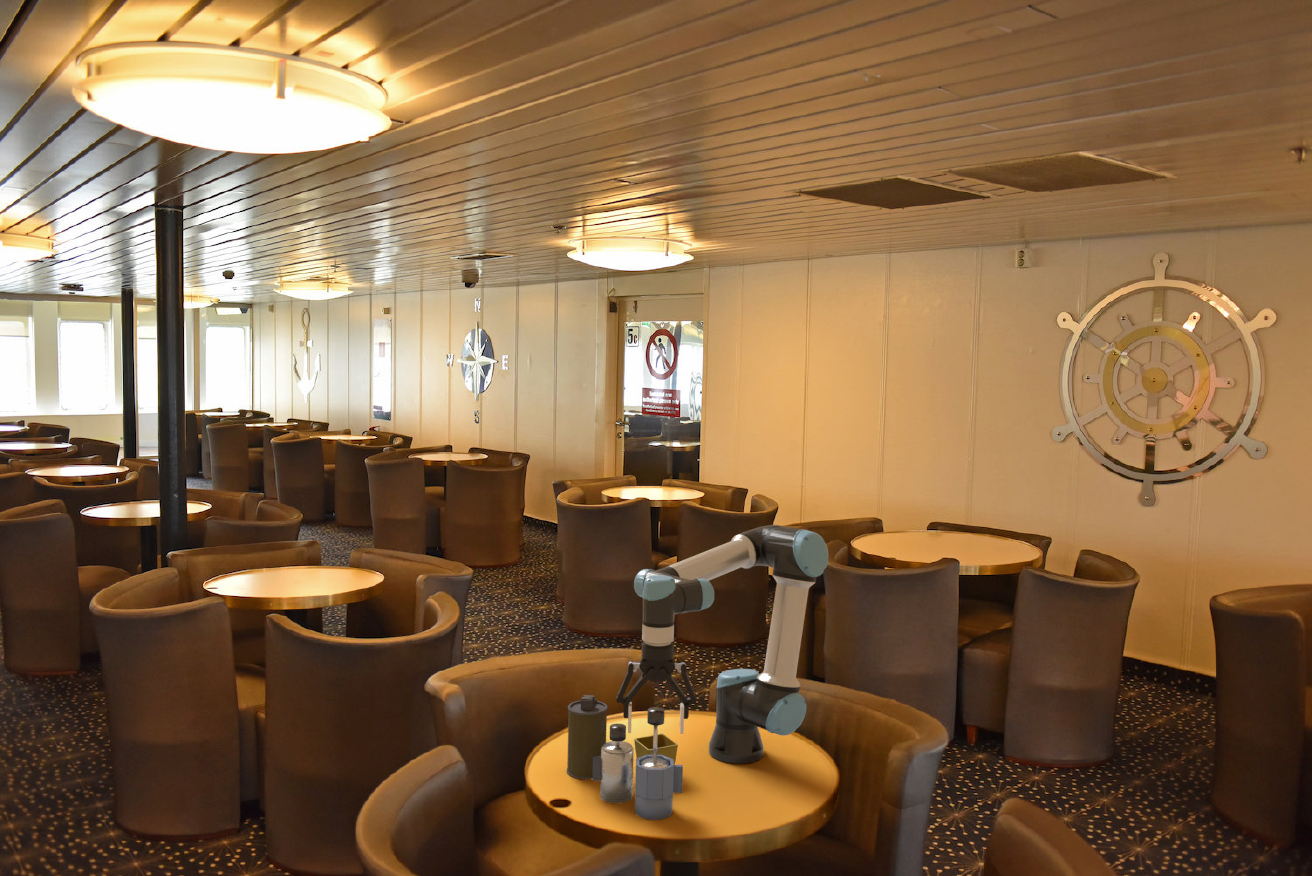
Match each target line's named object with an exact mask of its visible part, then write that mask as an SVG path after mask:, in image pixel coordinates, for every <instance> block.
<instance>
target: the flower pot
mask: <svg viewBox="0 0 1312 876" xmlns="http://www.w3.org/2000/svg"><path fill="white" fill-rule="evenodd" d="M633 742H634V751H635V757H636V758H635V759H637V758H639V757H642V756H644V755H653V734H652V735H647V736H641V737H635V738H634V739H633ZM678 747H679V744H678V743H677V742H676V741H674V740H673V739H671V738H670V737H669V736H667V735H666V734H665V733H658V738H657V755H664V756H666V757H669V758H671V759H673V761H674V765H676V762H677V761H676V759H677V754H678Z"/></svg>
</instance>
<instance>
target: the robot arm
mask: <svg viewBox="0 0 1312 876" xmlns="http://www.w3.org/2000/svg"><path fill="white" fill-rule="evenodd" d="M828 564H829V550H828V545H827V543H826V542H825V539H824V538H823V536H821V535H820V534H819V533H817V532H815V531H810V530H807V529H801V528H795V527H790V526H783V525H779V524H768V525H763V526H759V527H755V528H753V529H750V530H745V531H742V532H741V533H739V534H738V533H737V534H736V535H734V536H733V537H732V538H731V540H730V541H728V542H726V543H724V544H721V545H718V546H715V547H713V548H711V549H708V550H706V551H703V552H701V553H698V554H696V555H694V556H690V557H688V558H685V559H683V560H681V561H678V562H676V563H675V562H674V563H673V564H670V565H667V566H666V567H662V568H660V569H657V570H655V569H653V568H651V569H650V568H649V569H648V568H644V569H641V570H640V571H638V573H636V576H635V578H634V581H633V589H634V591H635V594H636V595H637V596H639V597H640V598H642V628H641V633H642V634H641V640H642V643H641V660H640V661H639V662H634V661H633V660H629V661H628V664H627V665H628V666H627V672H626V674H625V676H624V678H623V681H622V683H621V685H620V687H619V689H618V692H617V694H616V697H615V700H616V703H618V704H622V705H623V713H622V714H623V715H622V716H623V718H624V719H628V720H627V734H632V717H633V715H632V713H633V711H632V710H633V709H632V708H633V705H632V701H633V699H634V698H635V697H636V695H637V694H638V693H639V692H640V690H641V689H642V688H643V687H644V685H645V684H646V683H647V682H648V681H650V682H660V683H661V682H664V681H666V682H667V684H668V685H670V687H671V689H672V690H673V691H674V693H675V694H676V695H677V697H678V699H679V700H680V701H681V702H680V704H679V733H680V735H683V734H684V729H685V727H684V726H685V725H684V724H685V722H684V721H685V720H688V719H689V717H690V716H689V715H690V713H689V709H690V706H691V705H693V704H694V705H695V704H697V698H696V697H697V696H696V694H695V691H694V689H693V686H692V684H691V681H690V678H689V676H688V673H687V664H686V662H685V661H681V662H680V663H677V662H674V643H673V642H674V640H675V637H674V635H675V615H679V614H686V613H691V612H692V613H693V612H700V611H702V610H706V609H709V608H710V607H711V606H712V605H713V603H714V601H715V589H714V587H713V585H712V583H711V582H710V581H712V580H714V579H716V578H719V577H721V576H724V575H726V574H728V573H730V572H733V571H735V570H738V569H741V568H743V569H751V568H753V567H755V566H756V567H757V566H761V567H762V566H763V567H770V568H773V569H772V574H771V575H772V577H773V578H774V580H775V582H776V585H775V586H776V587H775V594H774V601H773V605H772V606H773V607H772V614H771V619H770V620H771V621H770V627H769V633H768V634H769V635H768V641H767V648H766V655H765V660H764V668H763V671H762V672H761V673H759V671H758V670H755V669H750V668H734V669H728V670H724V671H722V672H721V673H719V675H718V676H717V682H716V683H717V684H716V687H715V688H716V696H715V697H716V699H715V703H716V705H715V706H716V708H715V709H716V710H715V711H716V713H715V714H716V715H715V726H714V729H713V731H712V734H711V737H710V740H709V743H708V753H709V755H710V756H711V757H713V758H714V759H716V760H719V761H721V762H725V763H731V764H750V763H755V762H757V761H759V760H761V759H762V758H763V757H764V744H763V740H762V736H761V734H760V730H759V728H760V729H763V730H765V731H767V732H768V733H770V734H776V735H778V736H783V737H784V736H785V737H786V736H789V735H791V734H793V733H794V732H795V731H796V730H797V729H798V728H799V727H801V725H802V724H803V721H804V719H805V716H806V713H807V702H806V699H805V698H804V696H803V695H802V694H801V693H800V689H801V683H800V681H799V680H798V679H797V669H798V665H799V664H798V663H799V659H800V658H799V657H800V651H801V650H800V649H801V644H802V643H801V642H802V637H803V636H802V635H803V631H804V625H805V624H804V622H805V617H806V616H805V615H806V610H807V603H808V597H809V591H810V588H811V587H812V586H813V585H814V584H816V581H817V577H820V576H821V575H822V574H824V572H825V571H824V570H826V568H827V566H828ZM638 669H640V672H641V673H642V674H641V675H640V677H639V679H637V681H636V683H635V684H634V685H633V686H632V688H631V689H630V690H629V691H628V693H627V694H626V691H627V689H628V686H629V684H630V682H631V680H632V677H633V674H634V673H636V672H637V670H638ZM675 669H676V670H677V673H680V674H681V678H682V681H683V683H684V685H685V688H686V690H687V693H688V696H689V697H688V696H686V694H685V692H683V690H682V689H681V686H679V684H678V683H677V682H676V680H675V679H674V677H673V675H672V673H673V672H674V670H675ZM625 694H626V695H625ZM624 695H625V696H624Z"/></svg>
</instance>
